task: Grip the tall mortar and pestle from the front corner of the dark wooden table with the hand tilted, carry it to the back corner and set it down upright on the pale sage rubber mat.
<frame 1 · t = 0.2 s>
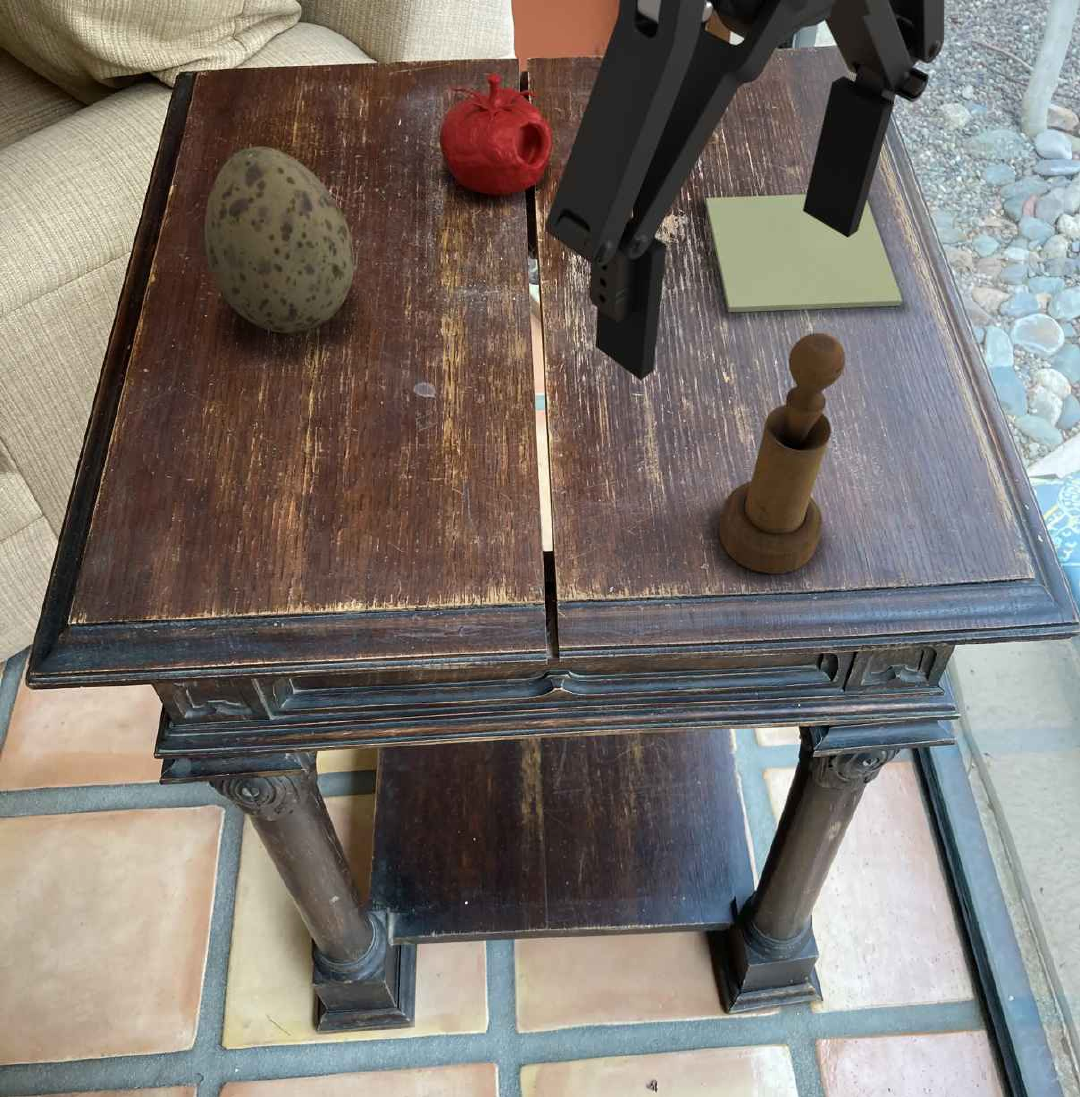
hand: (732, 287, 47), 27 cm above the table, tool pointing down, fingers open, 13 cm apart
decorative egg: (299, 319, 85), on the table
mortar and pestle: (766, 537, 72), on the table
red tomato: (497, 177, 95), on the table
mat: (798, 252, 89), on the table
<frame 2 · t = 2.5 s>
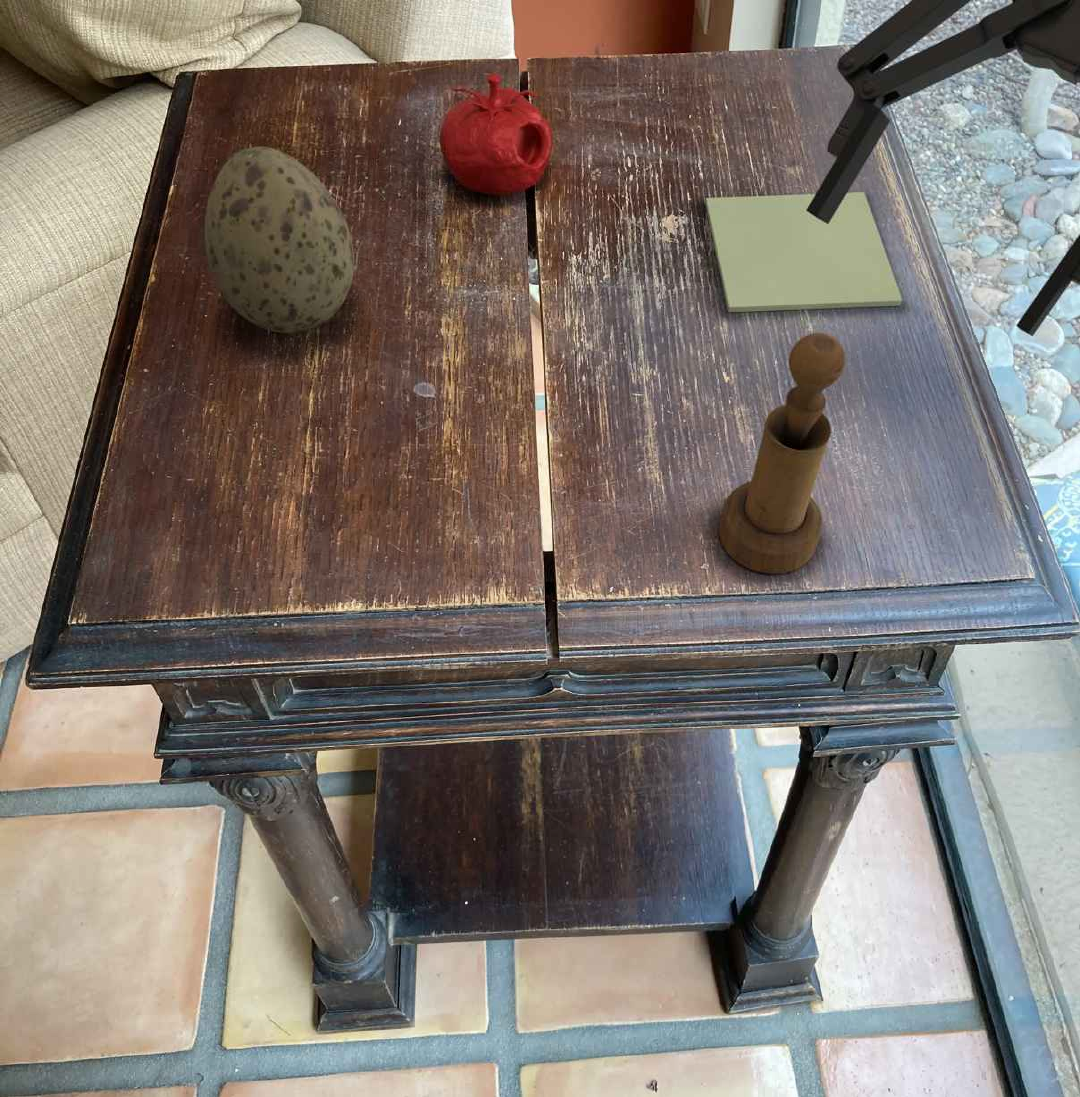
hand: (916, 272, 60), 18 cm above the table, tool tilted 40°, fingers open, 13 cm apart
nothing on the table moved.
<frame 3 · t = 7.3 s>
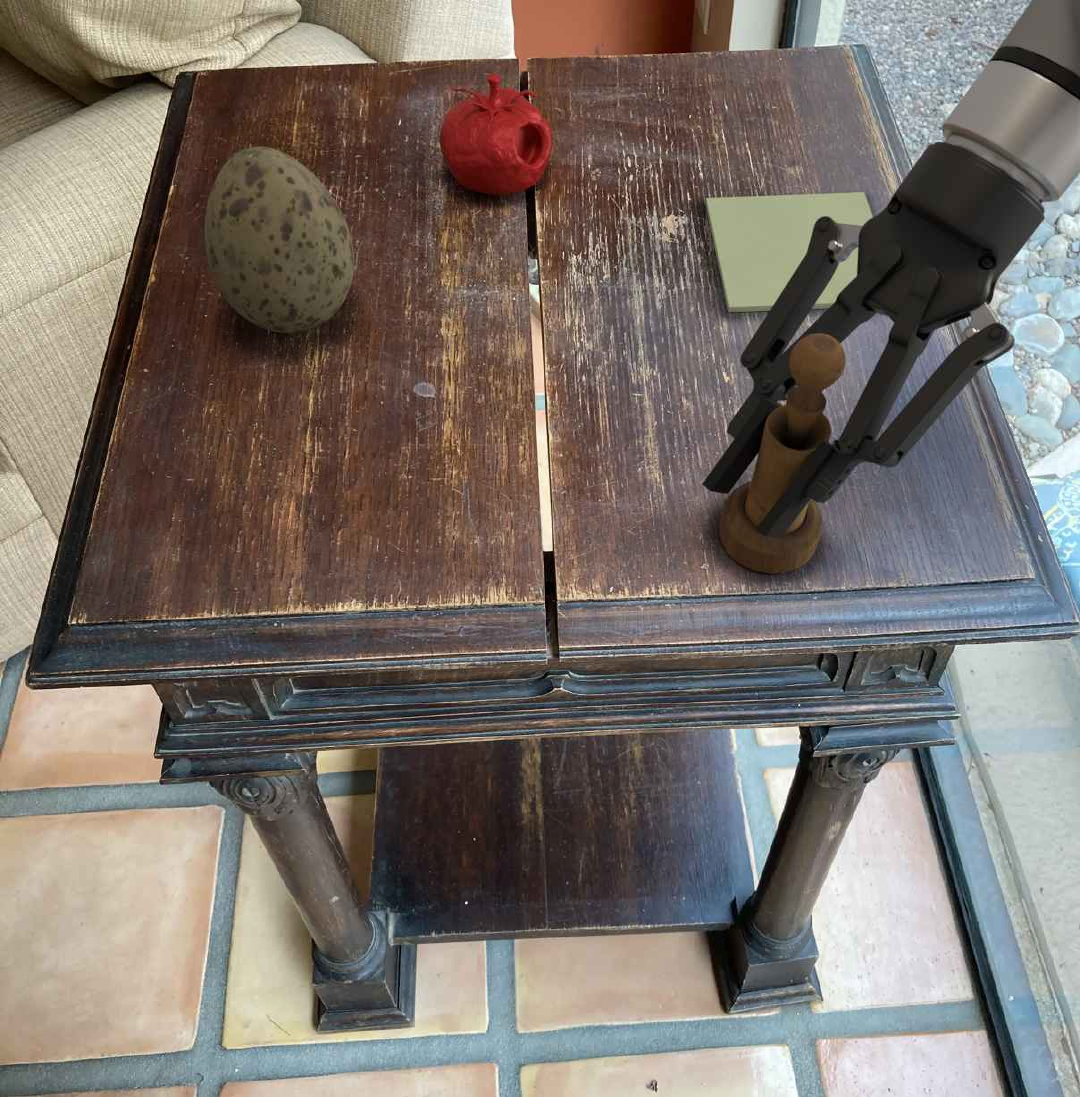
hand: (742, 510, 65), 6 cm above the table, tool tilted 45°, fingers closed on mortar and pestle, 4 cm apart
mortar and pestle: (766, 537, 72), on the table, touching gripper
everything else where it was.
when the fingers open (7 cm above the table, at t = 17.6 s): mortar and pestle stays where it is, resting on mat.
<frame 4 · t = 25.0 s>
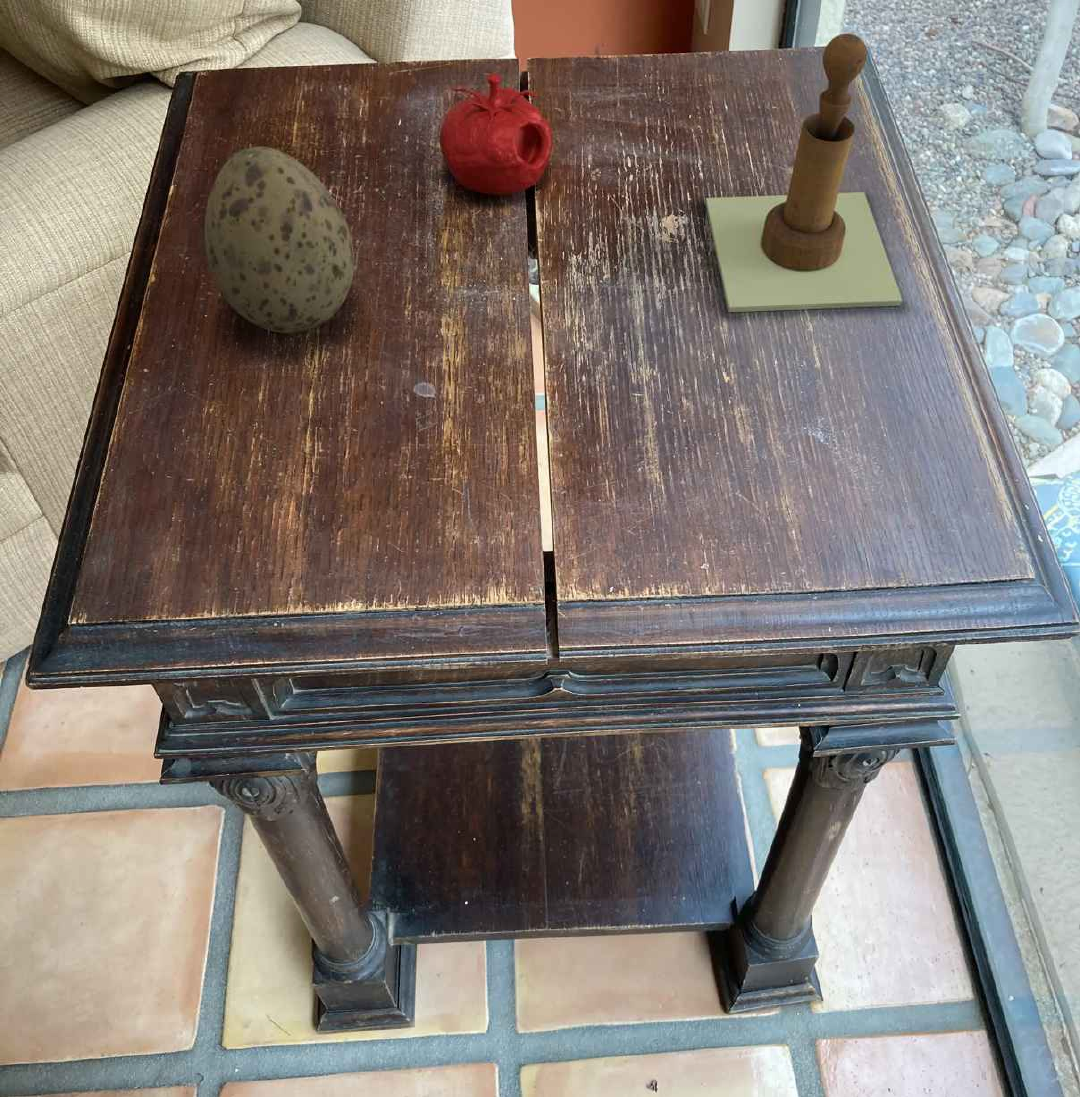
mortar and pestle: (800, 248, 88), resting on mat
everything else where it was.
at the end: mortar and pestle inside the target area on the mat (0.1 cm from its centre), point 0.4 cm above the mat's base; mortar and pestle tilted 0° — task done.
